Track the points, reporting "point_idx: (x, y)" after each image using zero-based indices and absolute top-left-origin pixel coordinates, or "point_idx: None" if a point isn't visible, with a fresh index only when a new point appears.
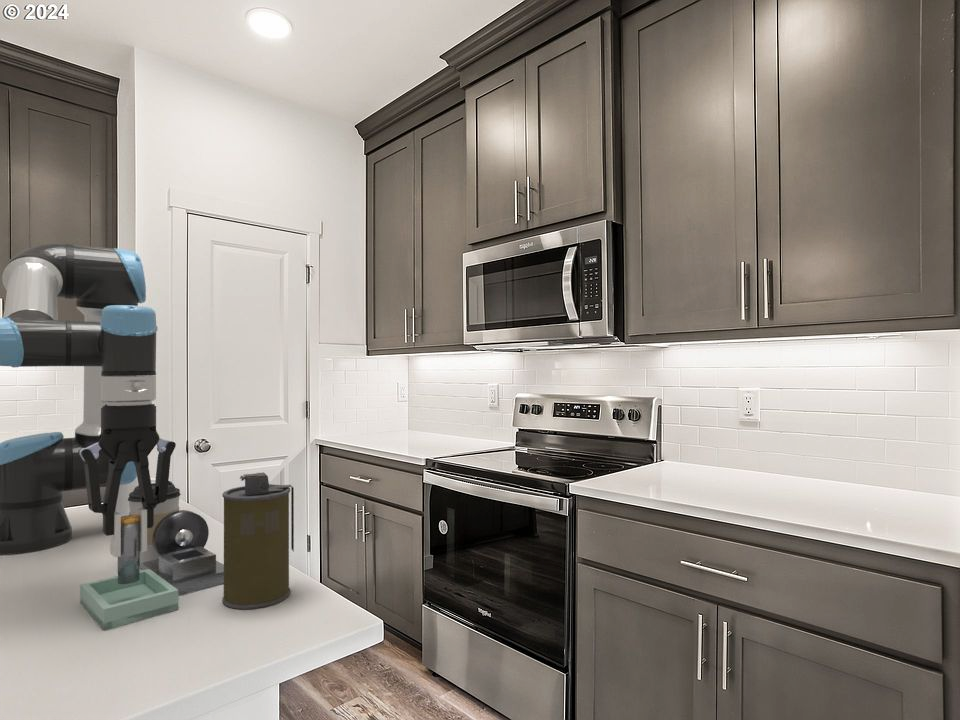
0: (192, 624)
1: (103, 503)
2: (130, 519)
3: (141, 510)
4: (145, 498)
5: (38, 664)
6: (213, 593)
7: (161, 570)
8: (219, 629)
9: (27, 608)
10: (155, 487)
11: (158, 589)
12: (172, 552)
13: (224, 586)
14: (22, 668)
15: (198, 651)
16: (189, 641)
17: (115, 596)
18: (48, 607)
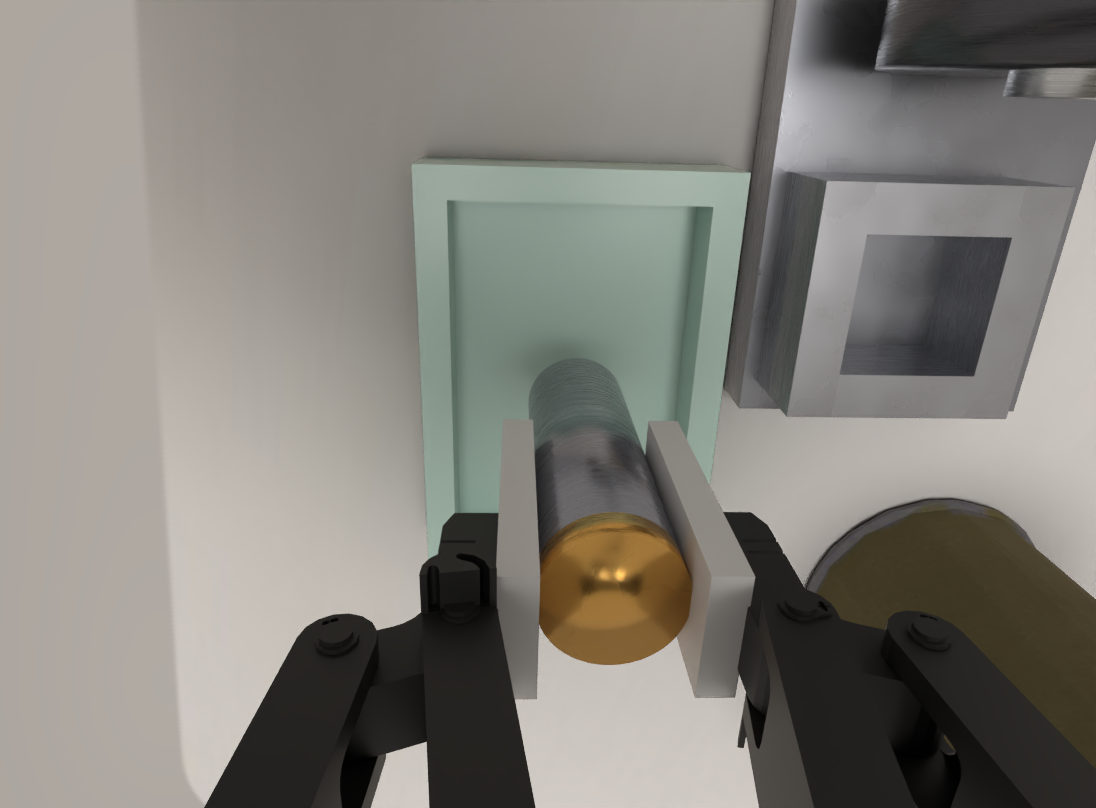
0: (656, 658)
1: (424, 657)
2: (600, 663)
3: (695, 690)
4: (755, 776)
5: (245, 623)
6: (847, 463)
7: (789, 218)
8: (691, 733)
9: (214, 19)
10: (953, 734)
11: (681, 407)
12: (903, 189)
13: (840, 615)
14: (206, 618)
15: (590, 803)
16: (599, 746)
17: (542, 282)
18: (299, 91)
